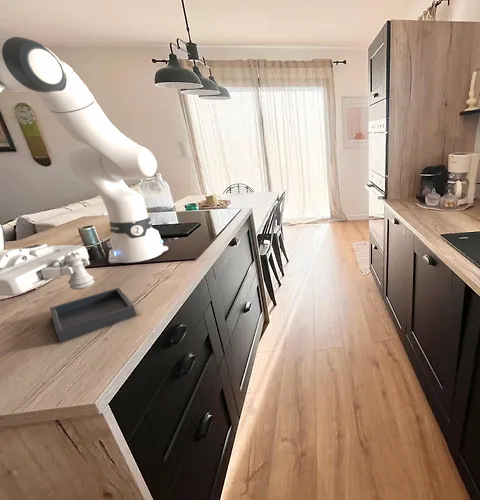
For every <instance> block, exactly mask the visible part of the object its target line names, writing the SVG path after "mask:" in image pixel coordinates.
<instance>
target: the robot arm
mask: <svg viewBox="0 0 480 500" xmlns="http://www.w3.org/2000/svg"><path fill="white" fill-rule="evenodd" d="M2 91H5V92H6V91H7V92H15V93H22V92H33V93H35V94H36V95H37V96H38V97H39V98H40V100H41V101H42V103H43V104H44V106H45V107H46V108H47V110H48V111H49V113H51V115H52V117H54V118H55V120H56V121H57V122H58V124H59V125H60V126H61V127H62V129H63V130H64V132H66V134H67V135H68V136H69V137H71V139H73V140H75V141H77V142H79V143H82V144H85V145H84V146H80V147H77V148H73V149H71V150H70V151H69V152H68V154H67V158H66V159H67V160H66V161H67V165H68V167H69V169H70V171H71V172H72V173H73V174H74V175H76V176H77V177H79V178H80V179H82V180H84V182H87V184H89V185H90V187H92V188H93V189H94V190H95V191H96V192H97V194H98V196H100V198H101V200H102V202H103V204H104V206H105V210H106V212H107V214H108V217H109V229H110V231H111V232H112V235H111V236H110V239H109V241H106V245H107V248H111V249H109V250H108V264H131V263H133V264H134V263H139V262H144V261H149V260H151V259H154V258H157V257H159V256H161V255H162V254H163V253H164V252H167V251H169V246H166V245H163V243H164V240H163V239H162V238H161V235H160V233H159V230H157V229H156V228H154V227H153V222H152V219H151V217H150V216H149V214H148V210H147V206H146V202H145V199H144V196H143V195H142V194H141V193H140V192H138V191H136V190H134V189H131V188H130V187H129V186H128V185H127V184H126V182H125V181H129V180H130V181H138V180H142V179H147V178H151V177H154V175H155V174H156V172H157V170H158V161H157V159H156V157H155V154H153V153H152V152H151V150H149V149H148V148H146V147H143V146H141V145H139V144H137V143H136V142H134V141H132V140H131V139H130V138H128V137H127V136H125V135H124V134H123V133H122V132H120V131H119V129H118V128H117V127H115V125H113V124H112V122H111V121H110V120H109V118H108V117H107V116H106V114H105V113H104V111H103V110H102V108H101V107H100V105H99V104H98V102H97V101H96V99H95V97H94V96H93V94H92V93H91V92H90V90H89V89H88V87H87V86H86V84H85V83H84V82H83V81H82V80H81V78H80V77H79V75H77V74H76V72H74V70H73V69H72V67H70V66H69V64H67V63H66V62H65V61H63V60H61V59H59V58H58V56H57V55H56V54H55V53H54V52H53V51H51V50H50V49H49V48H48V47H46V46H45V45H43V44H42V43H40V42H38V41H35V40H32V39H30V38H26V37H21V36H11V35H10V36H9V35H2V34H0V93H2ZM5 248H6V234H5V229H4V227H3V224H2V223H1V222H0V297H11V296H16V295H17V296H18V295H21V294H24V293H26V292H28V291H30V290H32V289H33V288H36V287H37V286H39V285H41V284H43V283H45V282H47V281H49V280H51V279H55V278H58V277H62V276H63V277H64V276H70V275H71V274H73V273H75V272H76V269H75V266H74V265H68V264H67V262H65V261H64V260H63V259H64V258H65V257H64V255H66V254H69V255H71V253H72V252H74V254H76V253H75V252H78V253H79V254H80V255H82V258H81V261H82V262H83V266H84V268H86V267H87V266H89V265H90V264H91V262H90V260H89V259H90V255H89V252H88V249H87V247H86V246H84V245H81V244H62V245H61V244H56V245H49V246H48V244H47V243H38V244H32V245H29V246H25V247H20V248H8V249H5Z"/></svg>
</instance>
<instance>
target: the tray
mask: <svg viewBox="0 0 480 500" xmlns="http://www.w3.org/2000/svg"><path fill="white" fill-rule="evenodd" d="M49 310H50V314H51V318H52V322H53V325H54V329H55V333H56V335H57V337H58V340H59V342H60V343H63V342H66V341H69V340H71V339H74V338H78V337H80V336H83V335H85V334H88V333H92V332H94V331H96V330H100V329H102V328H105V327H107V326H110V325H113V324H117V323H119V322H121V321H124V320H127V319H130V318H133V317H135V316H137V313H136V310H135V306H134V305H133V304H132V302H131V301H130V299H128V297H127V296H126V295H125V293H124V292H123V291H122V290H121V288H120V287H116V288H112V289H109V290H106V291H102V292H99V293H96V294H92V295H88V296H85V297H82V298H78V299H75V300H72V301H67V302H65V303H62V304H61V303H60V304H58V305H55V306H51V307H49Z"/></svg>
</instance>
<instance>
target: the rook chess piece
mask: <svg viewBox="0 0 480 500" xmlns="http://www.w3.org/2000/svg"><path fill="white" fill-rule="evenodd" d="M75 253H76V254H74V252H72V253H71V255H69V254H66V255H64V257H65V258H64V259H63V260H64V261H65V262H67V264H68V265H74V266H75V269H76V272H75V273H73V274H71V275H69V276H70V277H69V280H68V285H69V289H72V290H76V291H77V290H84V289H87V288H91V286H94V284H95V281H96V280H95V279H94V277H93V276H92V275H91V274H90V273H89V272H88V271H87V270H86V267H84V266H83V262H82V261H81V258H82V255H80V254H79V253H78V252H75Z"/></svg>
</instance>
